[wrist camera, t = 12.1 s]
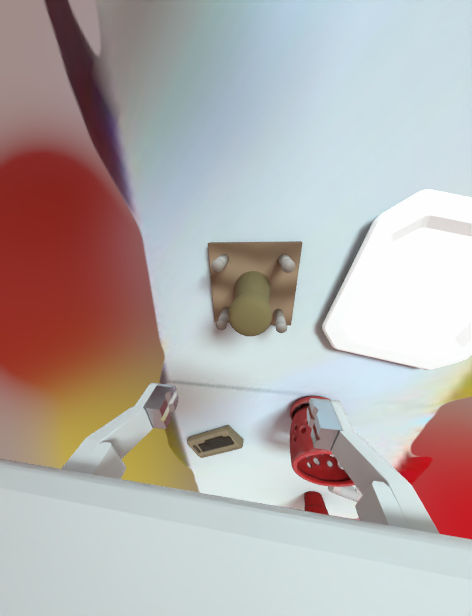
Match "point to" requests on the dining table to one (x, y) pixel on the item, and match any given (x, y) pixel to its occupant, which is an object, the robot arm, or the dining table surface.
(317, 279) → the dining table surface
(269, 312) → the olive gourd
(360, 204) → the dining table surface
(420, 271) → the plate
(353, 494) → the portable electronic device stand
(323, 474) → the plant pot
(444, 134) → the dining table surface
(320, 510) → the plastic cup
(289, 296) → the standoff base
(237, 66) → the dining table surface
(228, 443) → the computer
